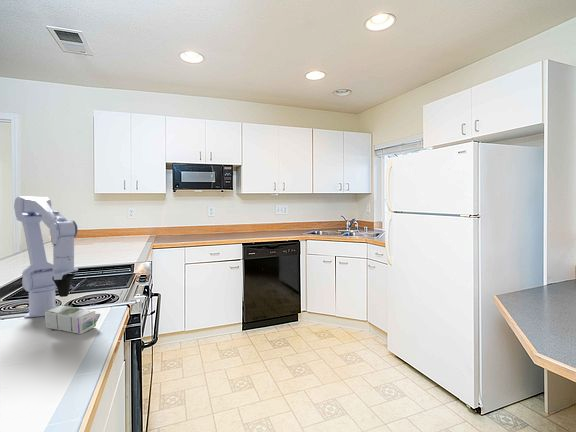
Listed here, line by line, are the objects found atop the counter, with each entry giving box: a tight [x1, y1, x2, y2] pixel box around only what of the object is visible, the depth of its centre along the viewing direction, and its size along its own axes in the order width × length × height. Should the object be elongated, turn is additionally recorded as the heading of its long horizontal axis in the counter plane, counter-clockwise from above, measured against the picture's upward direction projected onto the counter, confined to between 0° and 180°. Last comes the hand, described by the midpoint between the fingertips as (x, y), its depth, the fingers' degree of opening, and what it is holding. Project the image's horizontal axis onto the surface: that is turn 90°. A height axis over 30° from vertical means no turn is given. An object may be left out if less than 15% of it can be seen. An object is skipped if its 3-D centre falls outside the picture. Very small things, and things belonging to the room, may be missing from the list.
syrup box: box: [44, 304, 97, 335], centre depth 102 cm, size 6×6×14 cm
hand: (64, 296), depth 107 cm, fingers closed
